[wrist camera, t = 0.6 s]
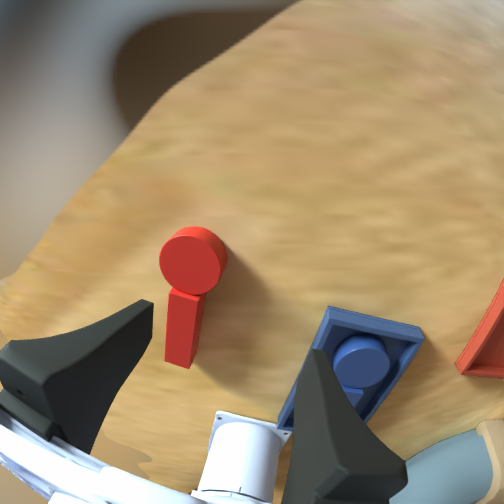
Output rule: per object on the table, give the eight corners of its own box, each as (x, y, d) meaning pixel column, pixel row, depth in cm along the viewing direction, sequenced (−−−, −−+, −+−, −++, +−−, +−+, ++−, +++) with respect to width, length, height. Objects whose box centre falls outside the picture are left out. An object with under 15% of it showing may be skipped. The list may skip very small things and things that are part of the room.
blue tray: (351, 428, 27) (352, 440, 26) (278, 416, 28) (276, 429, 26) (419, 326, 22) (425, 338, 20) (328, 305, 22) (329, 317, 21)
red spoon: (208, 356, 26) (202, 373, 24) (161, 341, 26) (152, 356, 24) (232, 235, 21) (224, 247, 19) (172, 219, 21) (159, 229, 19)
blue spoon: (340, 423, 27) (341, 440, 25) (299, 416, 27) (297, 433, 25) (395, 338, 22) (401, 356, 20) (345, 327, 22) (347, 346, 20)
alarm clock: (511, 449, 28) (528, 505, 17) (405, 499, 35) (409, 556, 24) (509, 397, 23) (542, 474, 12) (366, 467, 31) (368, 547, 20)
